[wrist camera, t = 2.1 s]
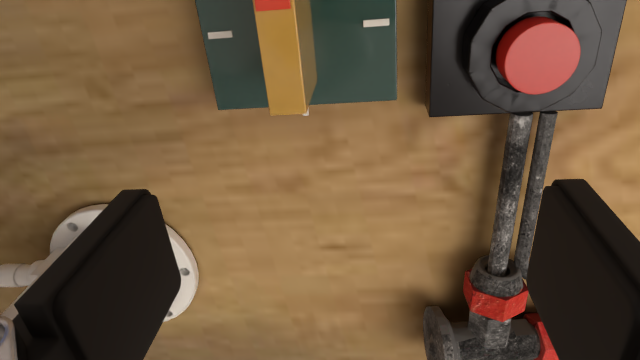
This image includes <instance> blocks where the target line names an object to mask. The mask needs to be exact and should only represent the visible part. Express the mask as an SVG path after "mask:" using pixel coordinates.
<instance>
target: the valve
mask: <svg viewBox="0 0 640 360" xmlns="http://www.w3.org/2000/svg"><path fill="white" fill-rule="evenodd" d="M557 113H558V112H556V111H541V112H540V115H539V121H538V126H537V132H536V138H535V143H534V149H533V155H532V160H531V166H530V172H529V177H528V183H527V189H526V194H525V200H524V206H523V211H522V217H521V223H520V228H519V234H518V240H517V245H516V251H515V257H514V261H513V260H511V259H509V253H510V247H511V242H512V236H513V230H514V224H515V218H516V212H517V206H518V200H519V194H520V189H521V183H522V177H523V171H524V165H525V159H526V153H527V147H528V141H529V136H530V130H531V124H532V118H533V113H532V112H522V113H510V117H509V123H508V130H507V137H506V144H505V151H504V158H503V165H502V172H501V178H500V185H499V192H498V199H497V206H496V213H495V220H494V226H493V233H492V240H491V247H490V254H489V255H485V256H482V257H480V258H479V259H478V260H477V261H476V262H475V264H474V266H473V268H472V269H469V270H467V271H465V277H464V286H463V293H464V295H465V298H466V301H467V303H468V306H469V308H470V312H469V321H464V322H450V321H448V320H447V318H446V317H445V316H444V314H443V312H442V311H441V309H440V308H439V307H438V306H428V307H426V309H425V312H424V318H423V332H424V343H425V350H426V356H427V360H559V359H558V356H557V354H556V352H555V350H554V347H553V345H552V343H551V341H550V339H549V336H548V334H547V332H546V330H545V327H544V325H543V323H542V321H541V319H540V316H539V314H538V313H528V314H524V318H523V319H516V320H511V318H512V317H514V316H516V315H518V314H519V313H521V312H523V311H525V306H526V301H527V296H528V288H527V286H526V284H525V283H524V281H523V279H522V277H523V278H524V279H526V278H527V272H528V266H529V256H530V251H531V246H532V241H533V236H534V231H535V226H536V220H537V215H538V210H539V205H540V200H541V195H542V190H543V184H544V179H545V174H546V169H547V164H548V159H549V154H550V149H551V143H552V138H553V133H554V128H555V123H556V118H557Z"/></svg>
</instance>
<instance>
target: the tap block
mask: <svg viewBox="0 0 640 360" xmlns="http://www.w3.org/2000/svg"><path fill="white" fill-rule="evenodd" d="M195 2H196V7H197V12H198V16H199V21H200V26H201V31H202V35H203V40H204V45H205V50H206V54H207V59H208V64H209V68H210V73H211V78H212V83H213V87H214V92H215V97H216V101H217V106H218V110H228V109H246V108H264V107H269V105H268V98H267V92H266V85H265V79H264V72H263V66H262V59H261V53H260V46H259V40H258V33H257V27H256V20H255V13H254V7H253V0H195ZM310 7H311V18H312V28H313V39H314V49H315V60H316V71H317V82H316V86H315V89H314V92H313V95H312V98H311V101H310V104H309V105H318V104H336V103H354V102H372V101H389V100H397V11H396V0H310ZM303 116H309V109H308V110H307V113H306V114H303Z"/></svg>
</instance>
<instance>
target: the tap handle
mask: <svg viewBox="0 0 640 360" xmlns="http://www.w3.org/2000/svg"><path fill="white" fill-rule="evenodd" d="M253 7H254V13H255V20H256V27H257V33H258V40H259V46H260V53H261V59H262V66H263V72H264V79H265V85H266V92H267V98H268V105H269V111H270V115H271V116H272V115H291V114H306V113H307V110H308V107H309V104H310V101H311V98H312V95H313V92H314V89H315V86H316V82H317V71H316V60H315V49H314V39H313V28H312V18H311V7H310V0H253Z"/></svg>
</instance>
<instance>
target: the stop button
mask: <svg viewBox="0 0 640 360" xmlns="http://www.w3.org/2000/svg"><path fill="white" fill-rule="evenodd" d="M580 54H581V47H580V42H579V39H578V37H577V35H576V34H575V33H574V31H573V30H571V29H570V28H569V27H567V26H566V25H564V24H561V23H559V22H557V21H555V20H553V19H550V18H547V17H541V16H536V17H530V18H526V19H524V20H521V21H519V22H518V23H516V24H515V25H513V26H512V27H511V28H510V29H508V31H507V32H506V33H505V34H504V35H503V37H502V38H501V40H500V42H499V44H498V47H497V50H496V65H497V68H498V70H499V72H500V74H501V75H502V76H503V77H504V78H505V79H506V80H507V81H508V82H509V84H510V85H511V86H512V87H514V88H515V89H516V90H518V91H520V92H522V93H526V94H532V95H537V94H543V93H547V92H550V91H552V90H554V89H556V88H558V87H560V86H561V85H562V84H564V83H565V82H566V81H567V80H568V79H569V78H570V77H571V76H572V74H573V73H574V71H575V69H576V68H577V65H578V63H579V59H580Z"/></svg>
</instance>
